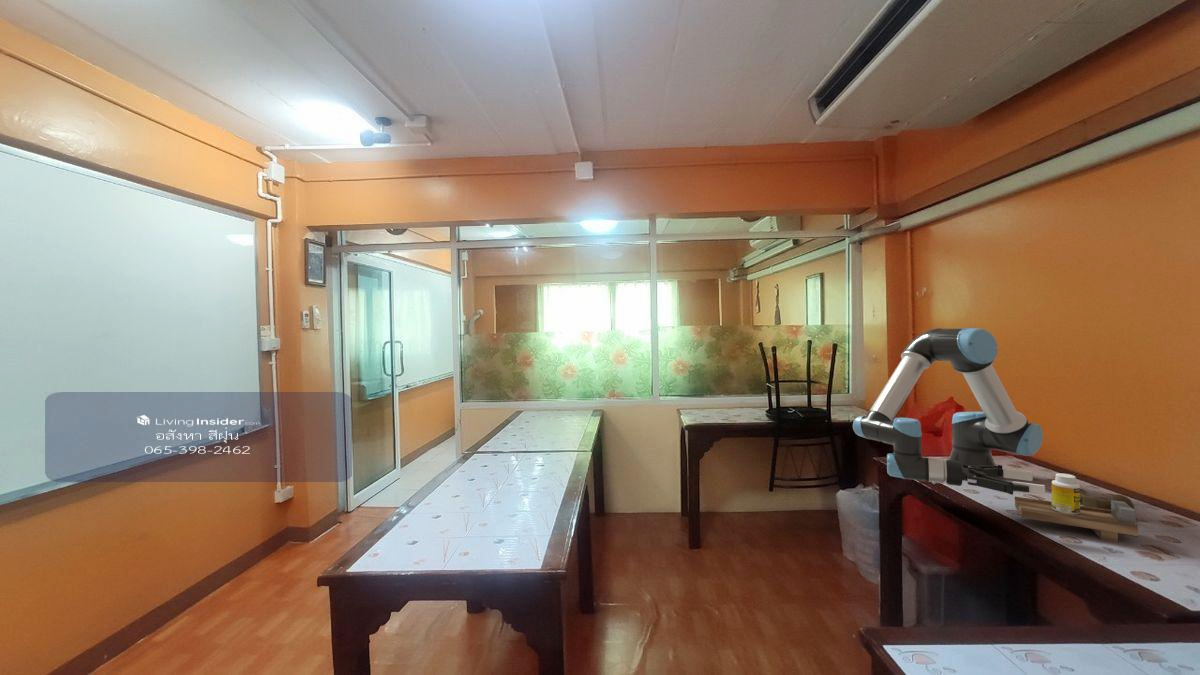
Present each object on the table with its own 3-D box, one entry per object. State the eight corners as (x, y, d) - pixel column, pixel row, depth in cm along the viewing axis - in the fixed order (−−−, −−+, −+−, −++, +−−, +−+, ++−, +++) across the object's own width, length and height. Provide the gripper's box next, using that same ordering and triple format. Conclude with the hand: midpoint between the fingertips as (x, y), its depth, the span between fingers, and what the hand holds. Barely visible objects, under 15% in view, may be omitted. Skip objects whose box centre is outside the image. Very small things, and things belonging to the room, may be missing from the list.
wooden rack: (1014, 513, 136) (1014, 485, 136) (1122, 530, 123) (1122, 500, 123) (1021, 526, 128) (1021, 496, 127) (1138, 545, 115) (1137, 512, 115)
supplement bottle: (1077, 517, 122) (1077, 480, 122) (1049, 510, 127) (1048, 474, 127) (1082, 512, 125) (1082, 475, 125) (1054, 506, 130) (1054, 470, 130)
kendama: (1082, 499, 147) (1149, 524, 127) (1049, 499, 148) (1111, 524, 128) (1081, 481, 147) (1148, 503, 127) (1048, 481, 148) (1110, 503, 128)
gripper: (942, 472, 151) (1027, 483, 139) (949, 496, 130) (1050, 511, 119) (941, 450, 151) (1027, 459, 139) (948, 470, 130) (1050, 483, 119)
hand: (1038, 483), depth 129 cm, fingers open, 13 cm apart
